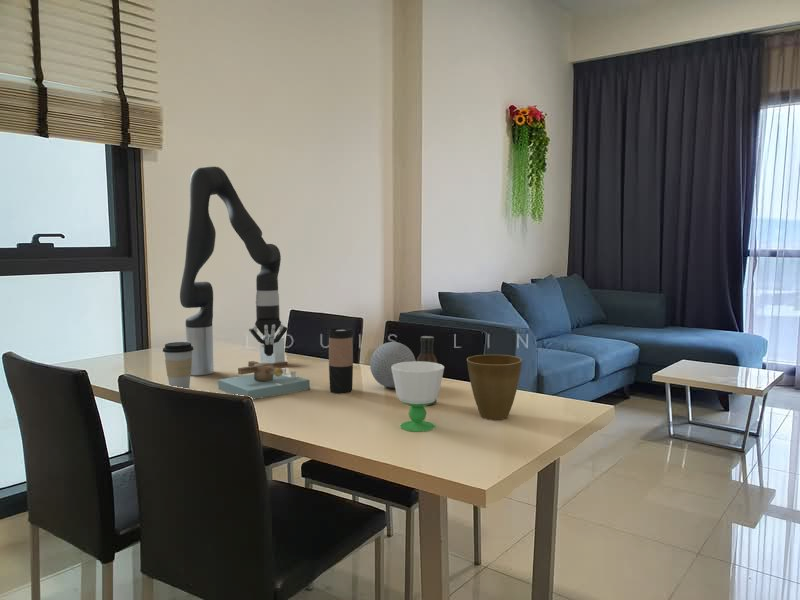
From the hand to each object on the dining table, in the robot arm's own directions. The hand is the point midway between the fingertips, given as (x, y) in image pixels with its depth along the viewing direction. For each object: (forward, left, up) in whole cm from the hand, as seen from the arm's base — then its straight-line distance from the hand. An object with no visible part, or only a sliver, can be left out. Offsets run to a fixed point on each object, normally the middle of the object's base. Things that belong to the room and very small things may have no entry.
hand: (268, 355), depth 207 cm
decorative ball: (+31, +28, -10) cm, 43 cm away
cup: (+68, +4, -10) cm, 69 cm away
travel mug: (+24, +12, -10) cm, 29 cm away
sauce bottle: (+53, +22, -10) cm, 58 cm away
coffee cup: (-12, -26, -10) cm, 30 cm away
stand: (+5, -5, -10) cm, 12 cm away
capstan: (+6, -5, -6) cm, 10 cm away
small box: (-29, +18, -10) cm, 36 cm away
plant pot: (+75, +26, -10) cm, 80 cm away
